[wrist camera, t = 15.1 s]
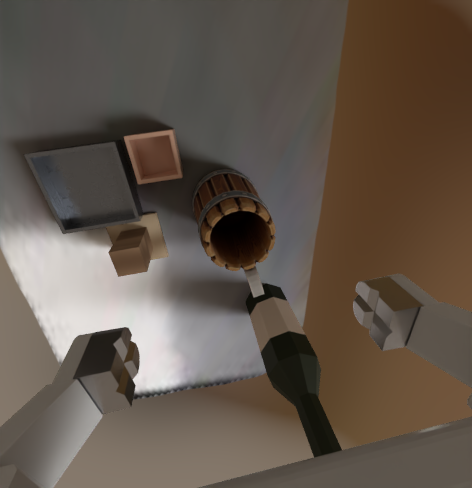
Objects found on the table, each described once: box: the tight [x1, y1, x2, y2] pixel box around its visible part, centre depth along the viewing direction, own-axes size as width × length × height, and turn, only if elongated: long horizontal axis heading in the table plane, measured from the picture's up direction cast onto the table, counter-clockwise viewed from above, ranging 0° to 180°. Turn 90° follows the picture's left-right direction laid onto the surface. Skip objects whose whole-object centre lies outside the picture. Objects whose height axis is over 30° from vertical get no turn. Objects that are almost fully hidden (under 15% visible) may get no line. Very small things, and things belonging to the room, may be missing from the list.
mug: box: [192, 169, 275, 297], centre depth 35 cm, size 16×11×15 cm
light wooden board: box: [106, 212, 169, 260], centre depth 41 cm, size 8×8×1 cm
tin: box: [24, 140, 144, 234], centre depth 35 cm, size 11×11×3 cm
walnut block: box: [109, 227, 153, 277], centre depth 37 cm, size 4×4×7 cm
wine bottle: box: [246, 284, 342, 457], centre depth 38 cm, size 8×8×30 cm
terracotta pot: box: [124, 129, 183, 184], centre depth 34 cm, size 6×6×4 cm
